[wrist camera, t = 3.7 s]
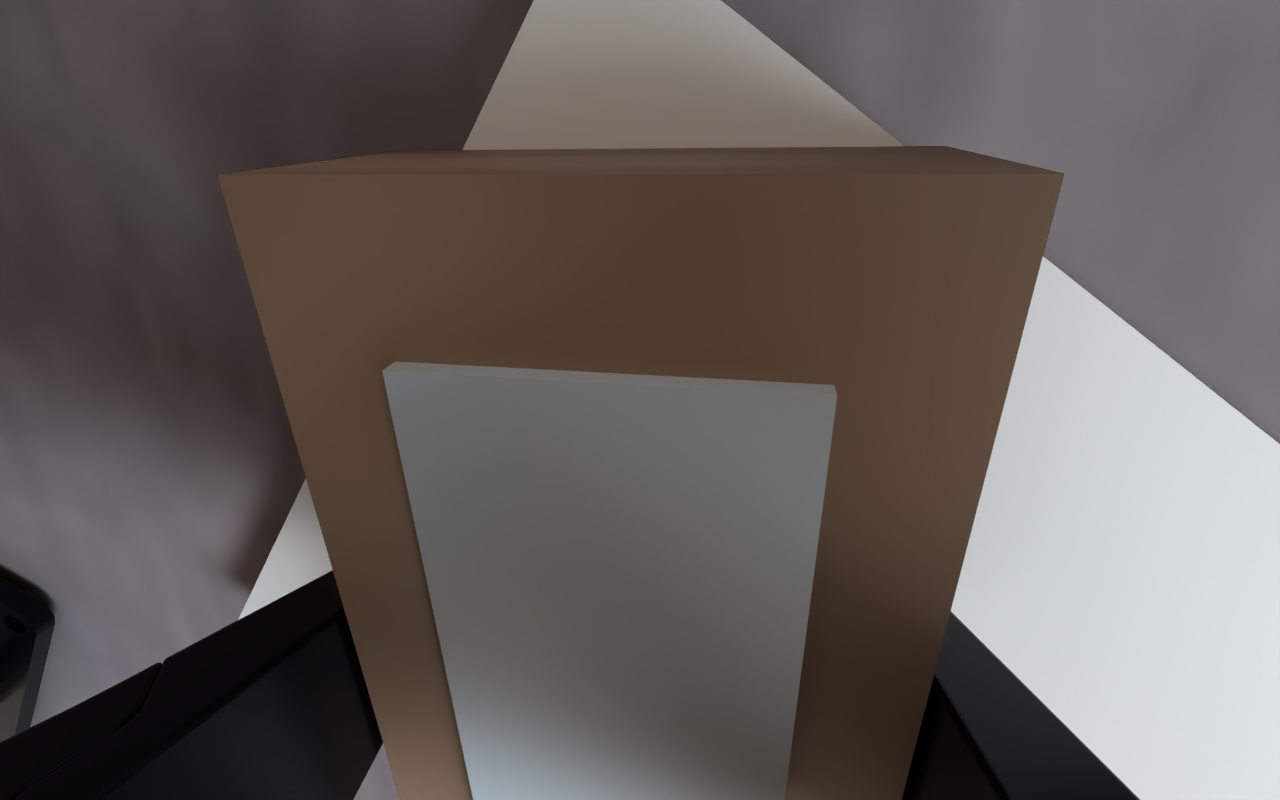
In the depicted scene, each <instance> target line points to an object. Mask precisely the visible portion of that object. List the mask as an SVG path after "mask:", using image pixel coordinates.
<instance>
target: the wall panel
mask: <svg viewBox="0 0 1280 800" xmlns="http://www.w3.org/2000/svg"><path fill="white" fill-rule="evenodd" d="M890 146H904V145H902V144H901V143H900V142H899V141H897V140H896V139H895V138H894V137H892V136H891V135H890V134H889V133H887V132H886V131H885V130H884V129H882V128H881V127H880V126H879V125H877V124H876V123H875V122H874V121H872V120H871V119H870V118H869V117H867V116H866V115H865V114H863V113H862V112H861V111H860V110H858V109H857V108H856V107H855V106H853V105H852V104H851V103H850V102H848V101H847V100H846V99H845V98H843V97H842V96H841V95H840V94H838V93H837V92H836V91H835V90H833V89H832V88H831V87H830V86H828V85H827V84H826V83H824V82H823V81H822V80H821V79H819V78H818V77H817V76H816V75H814V74H813V73H812V72H811V71H809V70H808V69H807V68H806V67H804V66H803V65H802V64H801V63H799V62H798V61H797V60H796V59H794V58H793V57H792V56H791V55H789V54H788V53H787V52H785V51H784V50H783V49H782V48H780V47H779V46H778V45H777V44H775V43H774V42H773V41H772V40H770V39H769V38H768V37H767V36H765V35H764V34H763V33H762V32H760V31H759V30H758V29H757V28H755V27H754V26H753V25H752V24H750V23H749V22H748V21H746V20H745V19H744V18H743V17H741V16H740V15H739V14H738V13H736V12H735V11H734V10H733V9H731V8H730V7H729V6H728V5H726V4H725V3H724V2H723V1H721V0H534V1H533V3H532V5H531V7H530V9H529V11H528V13H527V15H526V18H525V20H524V22H523V24H522V26H521V28H520V30H519V32H518V34H517V36H516V39H515V41H514V43H513V45H512V47H511V49H510V51H509V53H508V55H507V57H506V59H505V62H504V64H503V66H502V68H501V70H500V72H499V74H498V76H497V78H496V80H495V83H494V85H493V87H492V89H491V91H490V93H489V95H488V97H487V99H486V101H485V104H484V106H483V108H482V110H481V112H480V114H479V116H478V118H477V120H476V122H475V124H474V127H473V129H472V131H471V133H470V135H469V137H468V139H467V141H466V143H465V145H464V148H463V150H520V149H643V148H766V147H890ZM332 570H333V569H332V566H331V562H330V559H329V556H328V552H327V549H326V545H325V542H324V538H323V535H322V532H321V528H320V525H319V521H318V518H317V515H316V511H315V508H314V504H313V501H312V497H311V494H310V491H309V487H308V484H307V480H306V479H305V481H304V483H303V485H302V487H301V489H300V491H299V494H298V496H297V498H296V500H295V502H294V504H293V506H292V508H291V510H290V512H289V514H288V517H287V519H286V521H285V523H284V525H283V527H282V529H281V531H280V533H279V535H278V538H277V540H276V542H275V544H274V546H273V548H272V550H271V552H270V554H269V556H268V559H267V561H266V563H265V565H264V567H263V569H262V571H261V573H260V575H259V577H258V579H257V582H256V584H255V586H254V588H253V590H252V592H251V594H250V596H249V598H248V600H247V603H246V605H245V607H244V609H243V611H242V613H241V615H240V617H239V619H241V618H243V617H245V616H247V615H249V614H251V613H253V612H254V611H256V610H258V609H260V608H262V607H264V606H266V605H268V604H270V603H271V602H273V601H275V600H277V599H279V598H281V597H283V596H285V595H287V594H288V593H290V592H292V591H294V590H296V589H298V588H300V587H302V586H303V585H305V584H307V583H309V582H311V581H313V580H315V579H317V578H319V577H320V576H322V575H324V574H326V573H328V572H330V571H332ZM951 612H952V613H953V614H954V615H955V616H956V617H957V618H958V619H959V620H960V621H961V622H962V623H963V624H964V625H965V626H966V627H967V628H968V629H969V630H970V631H971V632H972V633H973V634H974V635H975V636H976V637H977V638H978V639H979V640H980V641H981V642H983V643H984V644H985V645H986V646H987V647H988V648H989V649H990V650H991V651H992V652H993V653H994V654H995V655H996V656H997V657H998V658H999V659H1000V660H1001V661H1002V662H1003V663H1004V664H1005V665H1006V666H1007V667H1008V668H1009V669H1010V670H1011V671H1012V672H1013V673H1014V674H1015V675H1016V676H1017V677H1018V678H1019V679H1020V680H1021V681H1022V682H1023V683H1024V684H1025V685H1026V686H1027V687H1028V688H1029V689H1030V690H1031V691H1032V692H1033V693H1034V694H1035V695H1036V696H1037V697H1038V698H1039V699H1040V700H1041V701H1042V702H1043V703H1044V704H1045V705H1046V706H1047V707H1048V708H1049V709H1050V710H1051V711H1052V712H1053V713H1054V714H1055V715H1056V716H1057V717H1058V718H1059V719H1060V720H1061V721H1062V722H1063V723H1064V724H1065V725H1066V726H1067V727H1068V728H1069V729H1070V730H1071V731H1072V732H1073V733H1074V734H1075V735H1076V736H1077V737H1078V738H1079V739H1080V740H1081V741H1082V742H1083V743H1084V744H1085V745H1086V746H1087V747H1088V748H1089V749H1090V750H1091V751H1092V752H1093V753H1094V754H1095V755H1096V756H1097V757H1098V758H1099V759H1100V760H1101V761H1102V762H1103V763H1104V764H1105V765H1106V766H1107V767H1108V768H1109V769H1110V770H1111V771H1112V772H1113V773H1114V774H1115V775H1116V776H1117V777H1118V778H1119V779H1120V780H1121V781H1122V782H1123V783H1124V784H1125V785H1126V786H1127V787H1128V788H1129V789H1130V790H1131V791H1132V792H1133V793H1134V794H1135V795H1136V796H1137V797H1138V798H1139V799H1140V800H1280V444H1279V443H1277V442H1276V441H1275V440H1274V439H1272V438H1271V437H1270V436H1269V435H1267V434H1266V433H1265V432H1264V431H1262V430H1261V429H1260V428H1259V427H1257V426H1256V425H1255V424H1253V423H1252V422H1251V421H1250V420H1248V419H1247V418H1246V417H1245V416H1243V415H1242V414H1241V413H1240V412H1238V411H1237V410H1236V409H1235V408H1233V407H1232V406H1231V405H1230V404H1228V403H1227V402H1226V401H1225V400H1223V399H1222V398H1221V397H1220V396H1218V395H1217V394H1216V393H1214V392H1213V391H1212V390H1211V389H1209V388H1208V387H1207V386H1206V385H1204V384H1203V383H1202V382H1201V381H1199V380H1198V379H1197V378H1196V377H1194V376H1193V375H1192V374H1191V373H1189V372H1188V371H1187V370H1186V369H1184V368H1183V367H1182V366H1181V365H1179V364H1178V363H1177V362H1175V361H1174V360H1173V359H1172V358H1170V357H1169V356H1168V355H1167V354H1165V353H1164V352H1163V351H1162V350H1160V349H1159V348H1158V347H1157V346H1155V345H1154V344H1153V343H1152V342H1150V341H1149V340H1148V339H1147V338H1145V337H1144V336H1143V335H1142V334H1140V333H1139V332H1138V331H1136V330H1135V329H1134V328H1133V327H1131V326H1130V325H1129V324H1128V323H1126V322H1125V321H1124V320H1123V319H1121V318H1120V317H1119V316H1118V315H1116V314H1115V313H1114V312H1113V311H1111V310H1110V309H1109V308H1108V307H1106V306H1105V305H1104V304H1103V303H1101V302H1100V301H1099V300H1097V299H1096V298H1095V297H1094V296H1092V295H1091V294H1090V293H1089V292H1087V291H1086V290H1085V289H1084V288H1082V287H1081V286H1080V285H1079V284H1077V283H1076V282H1075V281H1074V280H1072V279H1071V278H1070V277H1069V276H1067V275H1066V274H1065V273H1064V272H1062V271H1061V270H1060V269H1058V268H1057V267H1056V266H1055V265H1053V264H1052V263H1051V262H1050V261H1048V260H1047V259H1046V258H1045V257H1042V261H1041V265H1040V269H1039V273H1038V276H1037V280H1036V284H1035V288H1034V292H1033V296H1032V299H1031V303H1030V307H1029V311H1028V315H1027V319H1026V323H1025V326H1024V330H1023V334H1022V338H1021V342H1020V346H1019V350H1018V353H1017V357H1016V361H1015V365H1014V369H1013V373H1012V377H1011V380H1010V384H1009V388H1008V392H1007V396H1006V400H1005V403H1004V407H1003V411H1002V415H1001V419H1000V423H999V427H998V430H997V434H996V438H995V442H994V446H993V450H992V454H991V457H990V461H989V465H988V469H987V473H986V477H985V480H984V484H983V488H982V492H981V496H980V500H979V504H978V507H977V511H976V515H975V519H974V523H973V527H972V531H971V534H970V538H969V542H968V546H967V550H966V554H965V558H964V561H963V565H962V569H961V573H960V577H959V581H958V584H957V588H956V592H955V596H954V600H953V604H952V608H951ZM239 619H238V620H239Z"/></svg>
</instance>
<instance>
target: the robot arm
mask: <svg viewBox="0 0 1280 800" xmlns="http://www.w3.org/2000/svg"><path fill="white" fill-rule="evenodd" d="M54 624H55V618H54V615H53V614H52V612H51V610H50V609H49V608H48V607H47V606H46V605H45V604H44V603H43V602H41V601H40V600H39V599H37V598H36V597H34V596H32V595H30V594H29V593H27V592H25V591H24V590H22V589H20V588H18V587H17V586H15V585H13V584H11V583H10V582H8V581H6V580H4V579H3V578H1V577H0V800H353V799H354V797H355V795H356V793H357V791H358V790H359V788H360V786H361V784H362V782H363V780H364V778H365V776H366V774H367V772H368V770H369V769H370V767H371V765H372V763H373V761H374V759H375V757H376V755H377V753H378V751H379V750H380V748H381V746H382V744H383V740H382V737H381V733H380V730H379V726H378V723H377V720H376V716H375V713H374V709H373V706H372V703H371V699H370V696H369V692H368V689H367V685H366V682H365V679H364V675H363V672H362V668H361V665H360V662H359V658H358V655H357V651H356V648H355V644H354V641H353V638H352V634H351V631H350V627H349V624H348V621H347V617H346V614H345V610H344V607H343V603H342V600H341V597H340V593H339V590H338V586H337V583H336V579H335V576H334V573H333V570H332V571H330V572H328V573H326V574H324V575H322V576H320V577H319V578H317V579H315V580H313V581H311V582H309V583H307V584H305V585H303V586H302V587H300V588H298V589H296V590H294V591H292V592H290V593H288V594H287V595H285V596H283V597H281V598H279V599H277V600H275V601H273V602H271V603H270V604H268V605H266V606H264V607H262V608H260V609H258V610H256V611H254V612H253V613H251V614H249V615H247V616H245V617H243V618H241V619H239V620H238V621H236V622H234V623H232V624H230V625H228V626H226V627H224V628H222V629H221V630H219V631H217V632H215V633H213V634H211V635H209V636H207V637H205V638H204V639H202V640H200V641H198V642H196V643H194V644H192V645H190V646H188V647H187V648H185V649H183V650H181V651H179V652H177V653H175V654H173V655H172V656H170V657H168V658H166V659H165V660H164V662H163V664H162V663H156V664H154V665H152V666H151V667H149V668H147V669H145V670H143V671H141V672H139V673H138V674H136V675H134V676H132V677H130V678H128V679H126V680H124V681H122V682H121V683H119V684H117V685H115V686H113V687H111V688H109V689H107V690H105V691H103V692H101V693H99V694H97V695H95V696H93V697H91V698H89V699H87V700H85V701H84V702H82V703H80V704H78V705H76V706H74V707H72V708H70V709H68V710H66V711H64V712H62V713H60V714H57V715H55V716H53V717H51V718H49V719H47V720H45V721H43V722H41V723H39V724H37V725H35V726H33V727H30V725H31V721H32V717H33V713H34V708H35V704H36V700H37V696H38V692H39V687H40V683H41V679H42V675H43V671H44V666H45V662H46V658H47V654H48V650H49V645H50V641H51V637H52V633H53V628H54ZM902 800H1140V799H1139V798H1138V797H1137V796H1136V795H1135V794H1134V793H1133V792H1132V791H1131V790H1130V789H1129V788H1128V787H1127V786H1126V785H1125V784H1124V783H1123V782H1122V781H1121V780H1120V779H1119V778H1118V777H1117V776H1116V775H1115V774H1114V773H1113V772H1112V771H1111V770H1110V769H1109V768H1108V767H1107V766H1106V765H1105V764H1104V763H1103V762H1102V761H1101V760H1100V759H1099V758H1098V757H1097V756H1096V755H1095V754H1094V753H1093V752H1092V751H1091V750H1090V749H1089V748H1088V747H1087V746H1086V745H1085V744H1084V743H1083V742H1082V741H1081V740H1080V739H1079V738H1078V737H1077V736H1076V735H1075V734H1074V733H1073V732H1072V731H1071V730H1070V729H1069V728H1068V727H1067V726H1066V725H1065V724H1064V723H1063V722H1062V721H1061V720H1060V719H1059V718H1058V717H1057V716H1056V715H1055V714H1054V713H1053V712H1052V711H1051V710H1050V709H1049V708H1048V707H1047V706H1046V705H1045V704H1044V703H1043V702H1042V701H1041V700H1040V699H1039V698H1038V697H1037V696H1036V695H1035V694H1034V693H1033V692H1032V691H1031V690H1030V689H1029V688H1028V687H1027V686H1026V685H1025V684H1024V683H1023V682H1022V681H1021V680H1020V679H1019V678H1018V677H1017V676H1016V675H1015V674H1014V673H1013V672H1012V671H1011V670H1010V669H1009V668H1008V667H1007V666H1006V665H1005V664H1004V663H1003V662H1002V661H1001V660H1000V659H999V658H998V657H997V656H996V655H995V654H994V653H993V652H992V651H991V650H990V649H989V648H988V647H987V646H986V645H985V644H984V643H983V642H981V641H980V640H979V639H978V638H977V637H976V636H975V635H974V634H973V633H972V632H971V631H970V630H969V629H968V628H967V627H966V626H965V625H964V624H963V623H962V622H961V621H960V620H959V619H958V618H957V617H956V616H955V615H954V614H953V613H952V612H951V611H950V615H949V619H948V623H947V627H946V631H945V635H944V638H943V642H942V646H941V650H940V654H939V658H938V661H937V665H936V669H935V673H934V677H933V681H932V685H931V688H930V692H929V696H928V700H927V704H926V708H925V712H924V715H923V719H922V723H921V727H920V731H919V735H918V739H917V742H916V746H915V750H914V754H913V758H912V762H911V765H910V769H909V773H908V777H907V781H906V785H905V789H904V792H903V796H902Z"/></svg>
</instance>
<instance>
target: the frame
mask: <svg viewBox="0 0 1280 800" xmlns="http://www.w3.org/2000/svg"><path fill="white" fill-rule="evenodd" d="M217 176H218V180H219V183H220V186H221V190H222V193H223V197H224V200H225V203H226V207H227V210H228V214H229V217H230V221H231V224H232V227H233V231H234V234H235V238H236V241H237V244H238V248H239V251H240V255H241V258H242V262H243V265H244V268H245V272H246V275H247V279H248V282H249V285H250V289H251V292H252V296H253V299H254V303H255V306H256V309H257V313H258V316H259V320H260V323H261V327H262V330H263V333H264V337H265V340H266V344H267V347H268V350H269V354H270V357H271V361H272V364H273V368H274V371H275V374H276V378H277V381H278V385H279V388H280V391H281V395H282V398H283V402H284V405H285V409H286V412H287V415H288V419H289V422H290V426H291V429H292V432H293V436H294V439H295V443H296V446H297V450H298V453H299V456H300V460H301V463H302V467H303V470H304V474H305V477H306V480H307V484H308V487H309V491H310V494H311V497H312V501H313V504H314V508H315V511H316V515H317V518H318V521H319V525H320V528H321V532H322V535H323V538H324V542H325V545H326V549H327V552H328V556H329V559H330V562H331V566H332V569H333V573H334V576H335V579H336V583H337V586H338V590H339V593H340V597H341V600H342V603H343V607H344V610H345V614H346V617H347V621H348V624H349V627H350V631H351V634H352V638H353V641H354V644H355V648H356V651H357V655H358V658H359V662H360V665H361V668H362V672H363V675H364V679H365V682H366V685H367V689H368V692H369V696H370V699H371V703H372V706H373V709H374V713H375V716H376V720H377V723H378V726H379V730H380V733H381V737H382V740H383V744H384V747H385V750H386V754H387V757H388V761H389V764H390V767H391V771H392V774H393V778H394V781H395V785H396V788H397V791H398V795H399V798H400V800H902V796H903V792H904V789H905V785H906V781H907V777H908V773H909V769H910V765H911V762H912V758H913V754H914V750H915V746H916V742H917V739H918V735H919V731H920V727H921V723H922V719H923V715H924V712H925V708H926V704H927V700H928V696H929V692H930V688H931V685H932V681H933V677H934V673H935V669H936V665H937V661H938V658H939V654H940V650H941V646H942V642H943V638H944V635H945V631H946V627H947V623H948V619H949V615H950V611H951V608H952V604H953V600H954V596H955V592H956V588H957V584H958V581H959V577H960V573H961V569H962V565H963V561H964V558H965V554H966V550H967V546H968V542H969V538H970V534H971V531H972V527H973V523H974V519H975V515H976V511H977V507H978V504H979V500H980V496H981V492H982V488H983V484H984V480H985V477H986V473H987V469H988V465H989V461H990V457H991V454H992V450H993V446H994V442H995V438H996V434H997V430H998V427H999V423H1000V419H1001V415H1002V411H1003V407H1004V403H1005V400H1006V396H1007V392H1008V388H1009V384H1010V380H1011V377H1012V373H1013V369H1014V365H1015V361H1016V357H1017V353H1018V350H1019V346H1020V342H1021V338H1022V334H1023V330H1024V326H1025V323H1026V319H1027V315H1028V311H1029V307H1030V303H1031V299H1032V296H1033V292H1034V288H1035V284H1036V280H1037V276H1038V273H1039V269H1040V265H1041V261H1042V257H1043V253H1044V249H1045V246H1046V242H1047V238H1048V234H1049V230H1050V226H1051V222H1052V219H1053V215H1054V211H1055V207H1056V203H1057V199H1058V196H1059V192H1060V188H1061V184H1062V180H1063V176H1064V173H1060V172H1055V171H1051V170H1047V169H1042V168H1038V167H1034V166H1029V165H1025V164H1021V163H1016V162H1012V161H1008V160H1003V159H999V158H995V157H990V156H986V155H982V154H977V153H973V152H969V151H964V150H960V149H956V148H951V147H947V146H890V147H766V148H643V149H520V150H402V151H395V152H387V153H379V154H371V155H364V156H356V157H348V158H341V159H333V160H325V161H318V162H310V163H302V164H295V165H287V166H279V167H272V168H264V169H256V170H248V171H241V172H233V173H225V174H218V175H217Z"/></svg>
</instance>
